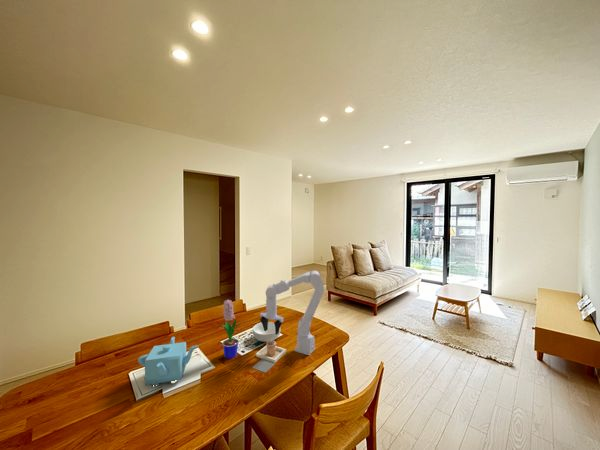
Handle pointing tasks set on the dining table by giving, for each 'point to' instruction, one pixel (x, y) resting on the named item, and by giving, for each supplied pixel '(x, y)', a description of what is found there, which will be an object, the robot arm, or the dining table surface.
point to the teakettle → (165, 362)
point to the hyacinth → (229, 331)
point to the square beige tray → (278, 355)
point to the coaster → (263, 365)
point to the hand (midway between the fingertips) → (271, 332)
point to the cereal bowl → (265, 332)
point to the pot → (271, 348)
